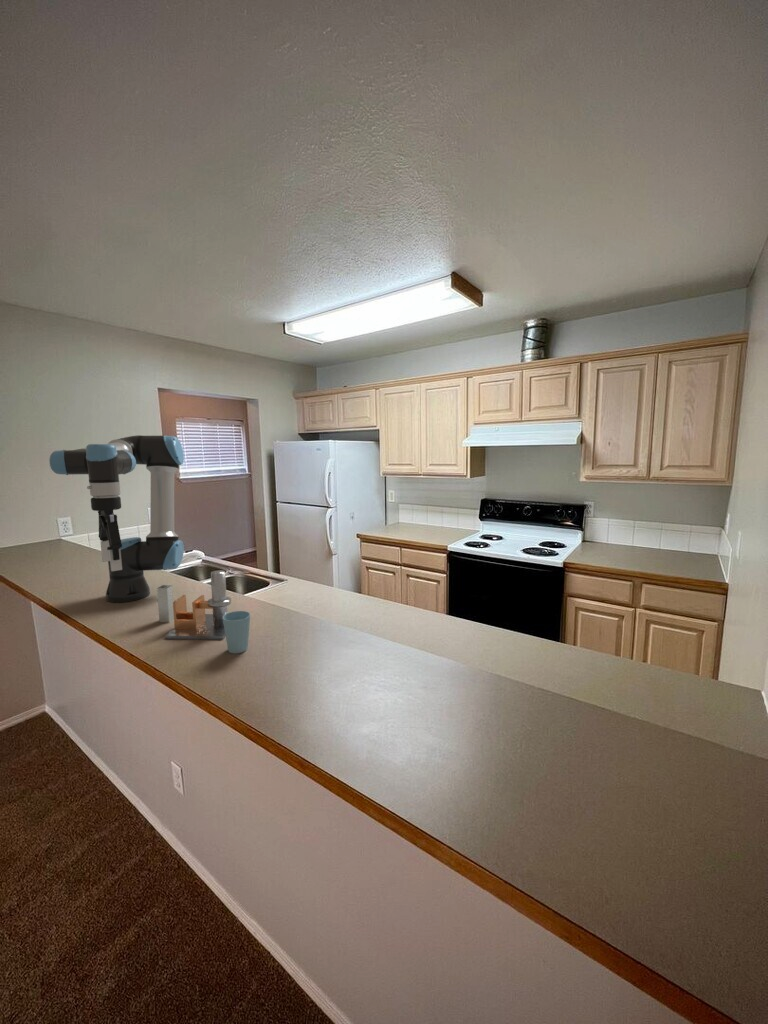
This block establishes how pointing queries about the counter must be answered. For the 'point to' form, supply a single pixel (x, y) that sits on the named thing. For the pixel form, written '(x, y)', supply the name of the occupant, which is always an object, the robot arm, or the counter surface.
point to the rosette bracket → (202, 613)
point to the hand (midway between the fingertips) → (111, 565)
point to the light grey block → (165, 603)
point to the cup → (237, 630)
